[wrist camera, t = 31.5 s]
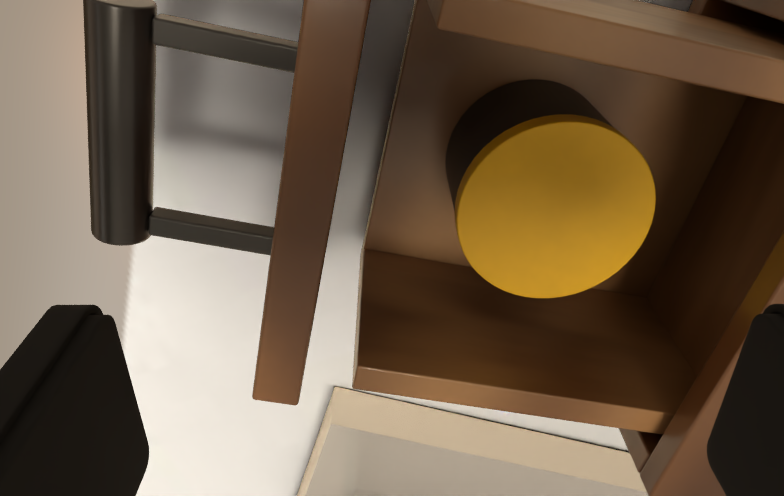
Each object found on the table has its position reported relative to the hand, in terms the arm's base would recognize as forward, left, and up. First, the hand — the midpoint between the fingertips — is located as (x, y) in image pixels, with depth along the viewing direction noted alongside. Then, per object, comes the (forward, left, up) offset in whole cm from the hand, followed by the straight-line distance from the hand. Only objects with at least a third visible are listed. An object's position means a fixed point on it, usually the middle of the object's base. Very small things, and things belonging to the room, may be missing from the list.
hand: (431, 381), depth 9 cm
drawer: (0, +1, -12) cm, 12 cm away
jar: (0, +4, -11) cm, 12 cm away
